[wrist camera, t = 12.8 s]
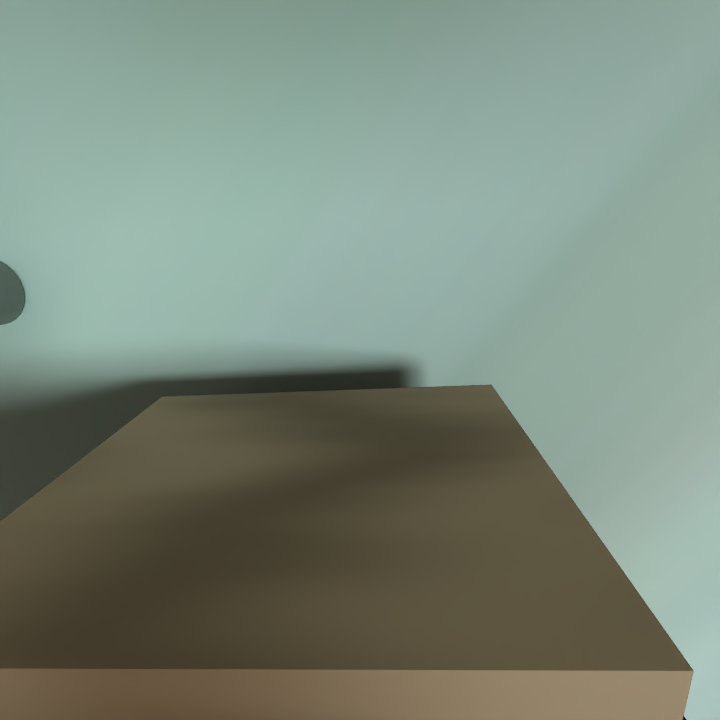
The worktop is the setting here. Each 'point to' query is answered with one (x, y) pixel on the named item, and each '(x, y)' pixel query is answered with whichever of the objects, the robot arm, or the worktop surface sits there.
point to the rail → (10, 295)
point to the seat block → (322, 572)
